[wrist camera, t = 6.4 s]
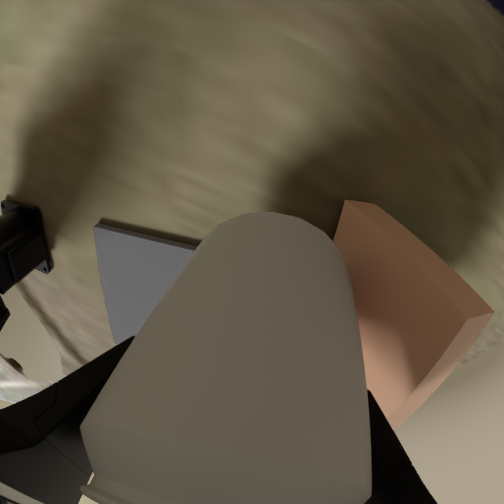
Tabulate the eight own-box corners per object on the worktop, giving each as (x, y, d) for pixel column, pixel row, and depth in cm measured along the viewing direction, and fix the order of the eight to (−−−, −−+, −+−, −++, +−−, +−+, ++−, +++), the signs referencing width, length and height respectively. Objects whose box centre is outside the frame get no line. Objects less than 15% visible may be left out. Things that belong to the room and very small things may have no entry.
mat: (117, 339, 24) (114, 343, 24) (98, 223, 18) (93, 226, 18) (240, 377, 23) (238, 382, 23) (265, 261, 17) (264, 266, 17)
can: (218, 180, 12) (-9, 441, 2) (375, 241, 12) (445, 541, 2) (186, 304, 16) (85, 498, 6) (308, 348, 16) (284, 556, 6)
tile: (307, 317, 18) (362, 441, 10) (345, 199, 14) (467, 319, 6) (340, 315, 18) (400, 428, 11) (381, 204, 15) (498, 310, 7)
